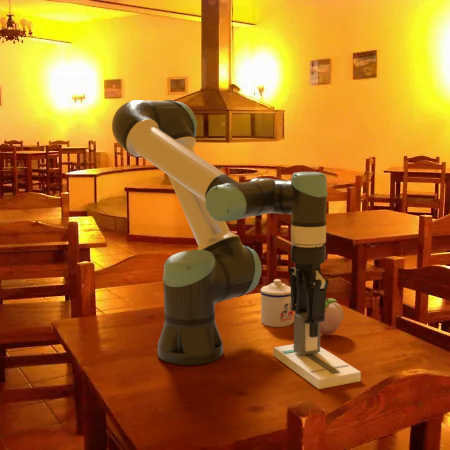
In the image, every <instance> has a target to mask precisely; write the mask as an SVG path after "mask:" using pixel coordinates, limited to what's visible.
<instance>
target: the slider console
mask: <svg viewBox="0 0 450 450" xmlns="http://www.w3.org/2000/svg"><path fill="white" fill-rule="evenodd" d="M273 357H274V358H276V359H277V360H279V361H280V362H281V363H283V364H284V365H286V366H287V367H288V368H289V369H291V370H292V371H293V372H295V373H296V374H297V375H298V376H300V377H301V378H303V379H305V380H306V381H307V382H308V383H310V385H312V386H313V387H315V388H317V389H318V390H323V389H326V388H332V387H337V386H342V385H347V384H353V383H359V382H361V379H362V377H361V373H362V372H361V371H360V370H358V369H357V368H355V367H354V366H352V365H350V364H349V363H347V362H345V361H344V360H342V359H341V358H339V357H337V356H336V355H334V354H332V353H331V352H330V351H328V350H327V349H324V348H323V347H322V346H320V352H318V353H312V354H306V355H299V354H297V353H296V352H295V351H294V343H293V344H292V343H291V344H287V345H280V346H274V347H273Z"/></svg>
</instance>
